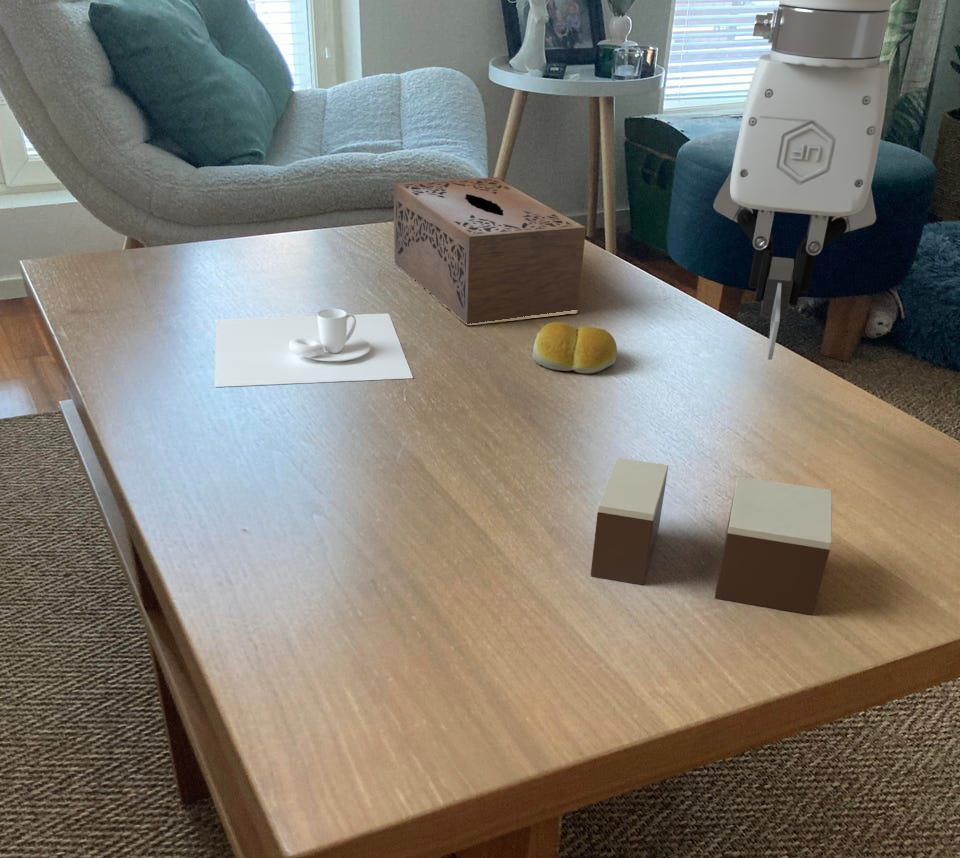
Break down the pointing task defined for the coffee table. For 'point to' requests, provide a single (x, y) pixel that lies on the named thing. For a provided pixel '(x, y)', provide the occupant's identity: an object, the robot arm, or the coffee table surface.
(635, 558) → the cake slice
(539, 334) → the bread roll
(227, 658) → the coffee table surface
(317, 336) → the teacup and saucer
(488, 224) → the tissue box cover
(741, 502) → the cake
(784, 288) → the knife
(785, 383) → the coffee table surface
